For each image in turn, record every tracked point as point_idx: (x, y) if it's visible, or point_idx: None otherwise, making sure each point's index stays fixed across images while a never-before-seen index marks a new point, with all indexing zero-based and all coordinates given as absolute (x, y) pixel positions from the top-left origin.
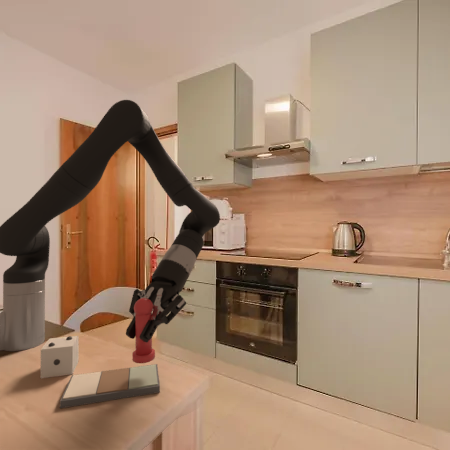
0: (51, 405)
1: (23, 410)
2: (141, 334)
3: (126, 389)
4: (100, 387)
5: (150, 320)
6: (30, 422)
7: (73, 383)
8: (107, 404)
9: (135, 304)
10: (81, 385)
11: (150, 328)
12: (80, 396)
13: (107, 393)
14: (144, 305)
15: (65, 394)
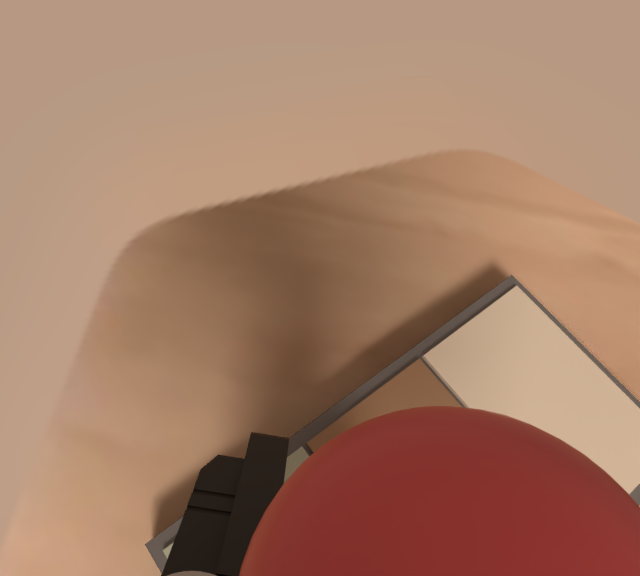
0: (553, 300)
1: (607, 251)
2: (274, 444)
3: (310, 439)
4: (444, 402)
5: (225, 570)
6: (517, 218)
7: (593, 384)
8: (351, 376)
9: (568, 446)
10: (542, 383)
11: (195, 517)
12: (467, 322)
13: (376, 380)
14: (331, 459)
15: (533, 306)
